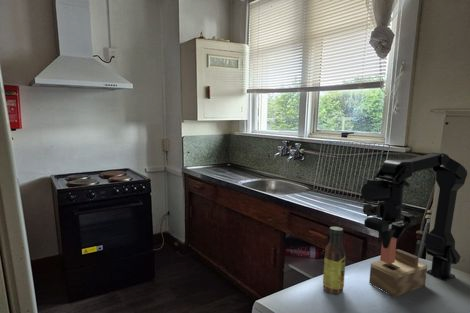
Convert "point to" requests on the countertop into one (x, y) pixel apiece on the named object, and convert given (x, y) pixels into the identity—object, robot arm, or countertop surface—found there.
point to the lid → (400, 264)
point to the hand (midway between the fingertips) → (388, 247)
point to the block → (389, 252)
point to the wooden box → (397, 281)
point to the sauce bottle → (334, 262)
